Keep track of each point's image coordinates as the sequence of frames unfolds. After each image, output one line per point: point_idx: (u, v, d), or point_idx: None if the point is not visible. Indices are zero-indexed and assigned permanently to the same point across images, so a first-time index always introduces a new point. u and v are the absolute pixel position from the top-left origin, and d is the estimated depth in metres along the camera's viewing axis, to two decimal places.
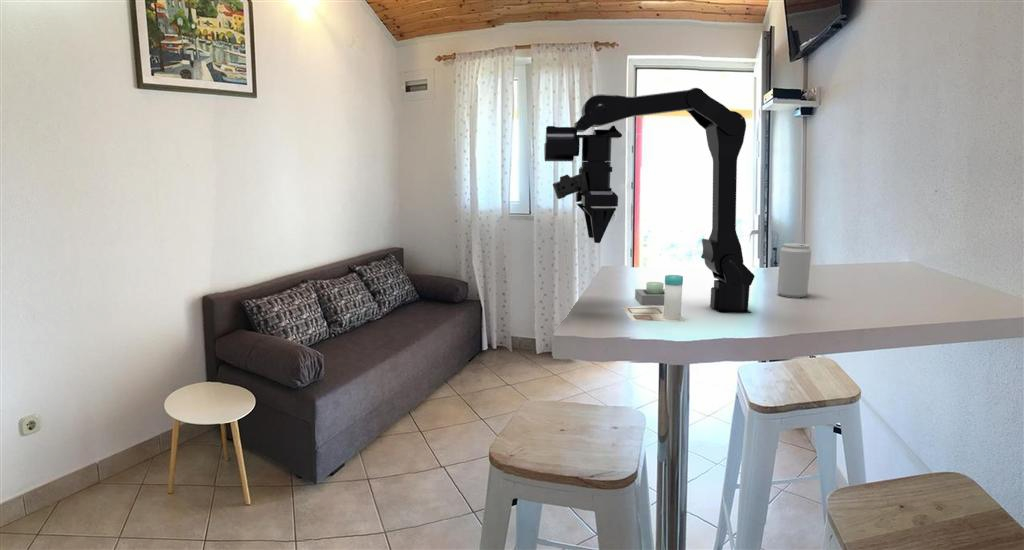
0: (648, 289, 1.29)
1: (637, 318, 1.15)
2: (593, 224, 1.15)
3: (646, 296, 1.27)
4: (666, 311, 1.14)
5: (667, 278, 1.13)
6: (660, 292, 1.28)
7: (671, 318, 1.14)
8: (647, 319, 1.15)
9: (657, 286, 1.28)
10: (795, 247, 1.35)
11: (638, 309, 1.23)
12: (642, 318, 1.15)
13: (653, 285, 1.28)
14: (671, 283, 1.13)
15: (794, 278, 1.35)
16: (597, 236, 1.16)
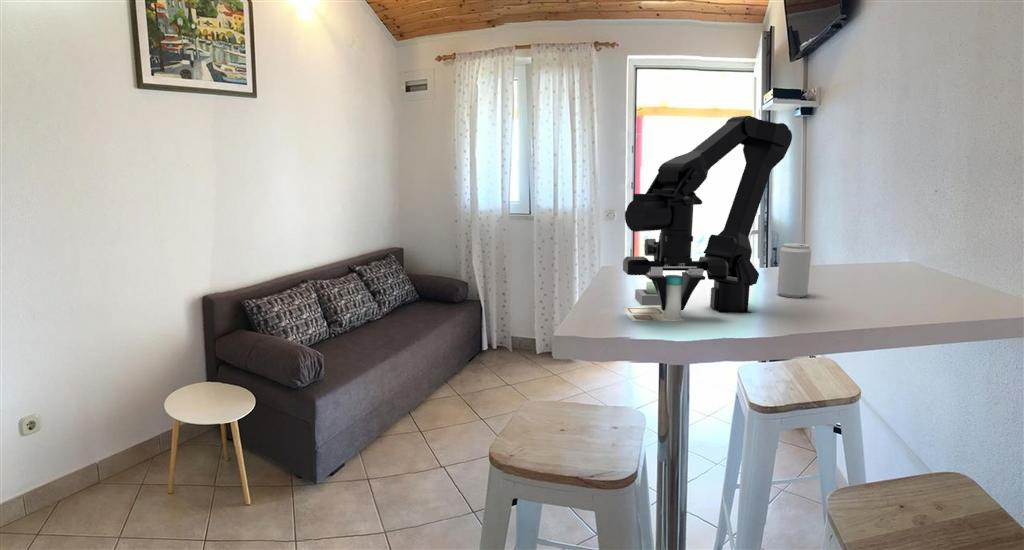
0: (648, 289, 1.29)
1: (637, 318, 1.15)
2: (656, 290, 1.16)
3: (646, 296, 1.27)
4: (666, 311, 1.14)
5: (667, 278, 1.13)
6: None
7: (671, 318, 1.14)
8: (647, 319, 1.15)
9: None
10: (795, 247, 1.35)
11: (638, 309, 1.23)
12: (642, 318, 1.15)
13: (653, 285, 1.28)
14: (671, 283, 1.13)
15: (794, 278, 1.35)
16: (661, 303, 1.15)
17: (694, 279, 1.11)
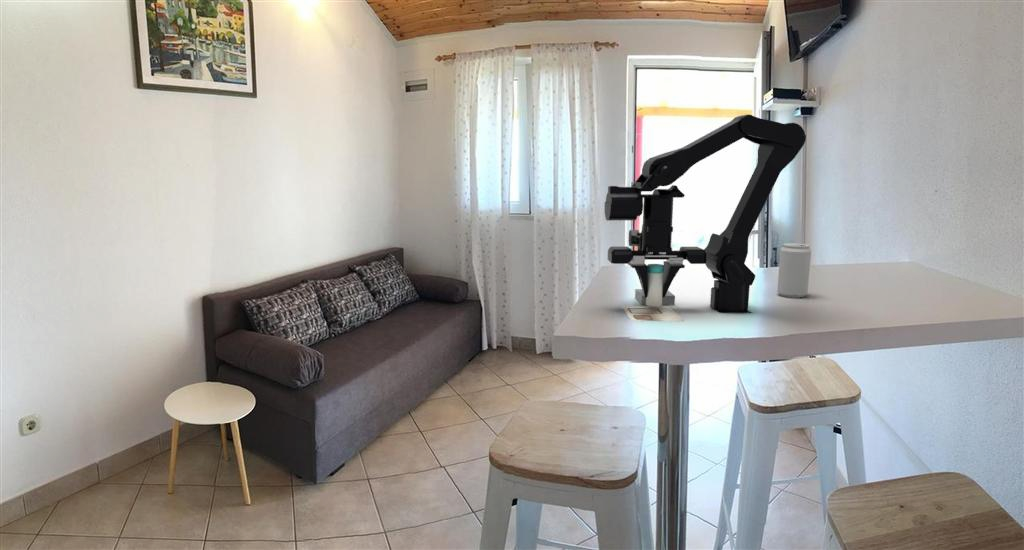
0: None
1: (637, 318, 1.15)
2: None
3: None
4: (648, 297, 1.21)
5: (649, 267, 1.20)
6: None
7: (653, 304, 1.21)
8: (647, 319, 1.15)
9: None
10: (795, 247, 1.35)
11: (638, 309, 1.23)
12: (642, 318, 1.15)
13: None
14: (653, 271, 1.20)
15: (794, 278, 1.35)
16: (643, 290, 1.22)
17: (674, 267, 1.18)
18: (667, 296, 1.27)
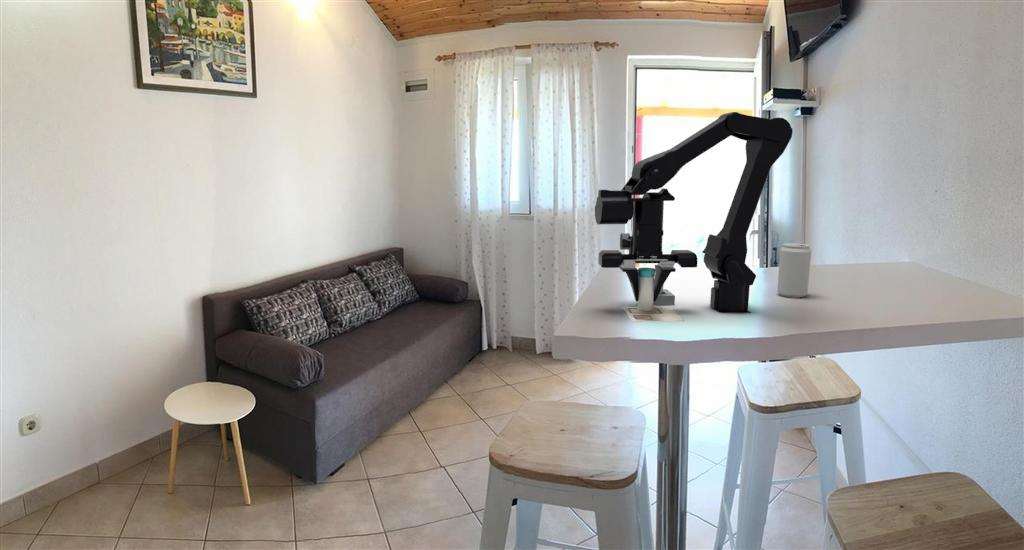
0: None
1: (637, 318, 1.15)
2: None
3: None
4: (639, 301, 1.20)
5: (640, 270, 1.19)
6: (660, 292, 1.28)
7: (644, 308, 1.20)
8: (647, 319, 1.15)
9: None
10: (795, 247, 1.35)
11: (638, 309, 1.23)
12: (642, 318, 1.15)
13: None
14: (643, 275, 1.19)
15: (794, 278, 1.35)
16: (634, 294, 1.21)
17: (665, 271, 1.17)
18: (667, 296, 1.27)
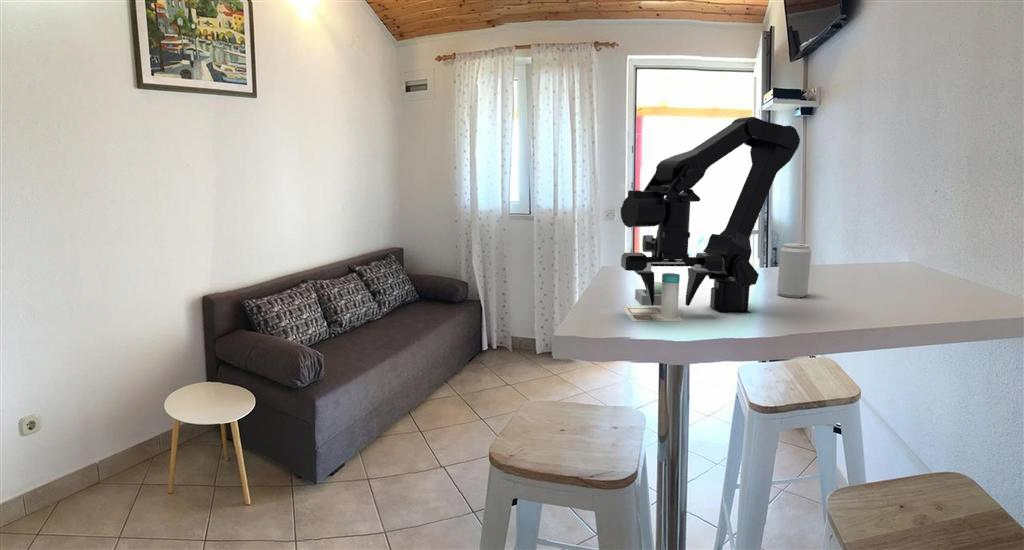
0: None
1: (637, 318, 1.15)
2: None
3: (646, 296, 1.27)
4: (663, 308, 1.16)
5: (664, 276, 1.15)
6: (660, 292, 1.28)
7: (668, 315, 1.16)
8: (647, 319, 1.15)
9: (657, 286, 1.28)
10: (795, 247, 1.35)
11: (638, 309, 1.23)
12: (642, 318, 1.15)
13: None
14: (668, 281, 1.15)
15: (794, 278, 1.35)
16: (650, 298, 1.17)
17: (700, 275, 1.13)
18: None
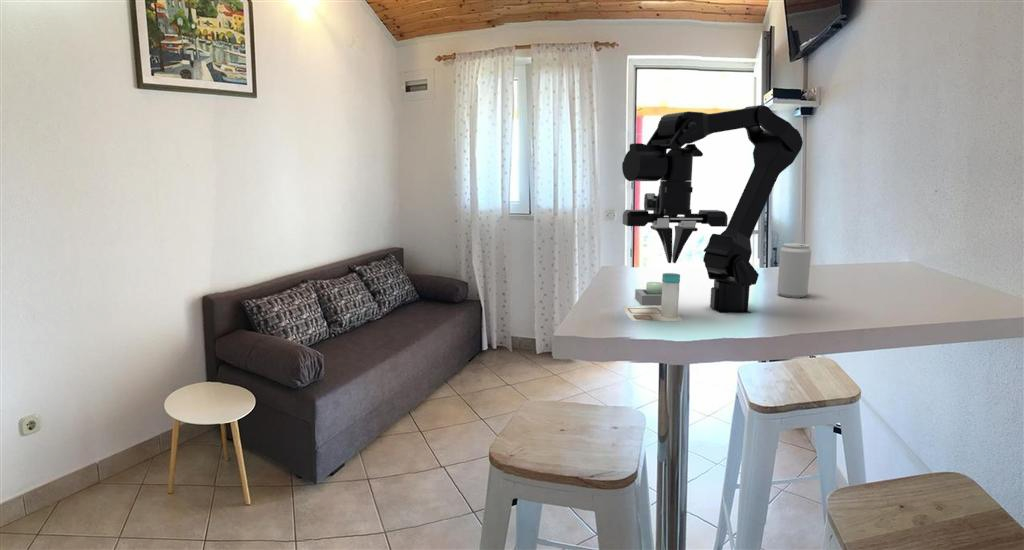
0: (648, 289, 1.29)
1: (637, 318, 1.15)
2: (662, 243, 1.16)
3: (646, 296, 1.27)
4: (663, 308, 1.16)
5: (664, 276, 1.15)
6: (660, 292, 1.28)
7: (668, 315, 1.16)
8: (647, 319, 1.15)
9: (657, 286, 1.28)
10: (795, 247, 1.35)
11: (638, 309, 1.23)
12: (642, 318, 1.15)
13: (653, 285, 1.28)
14: (668, 281, 1.15)
15: (794, 278, 1.35)
16: (667, 256, 1.15)
17: (686, 230, 1.12)
18: None
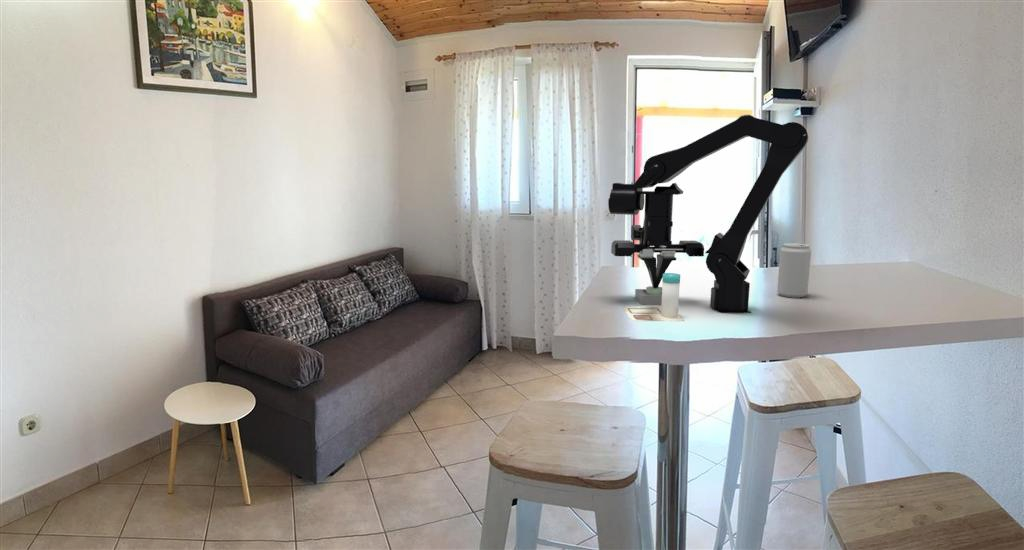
0: None
1: (637, 318, 1.15)
2: None
3: (646, 296, 1.27)
4: (663, 308, 1.16)
5: (665, 276, 1.15)
6: None
7: (668, 315, 1.16)
8: (647, 319, 1.15)
9: (657, 291, 1.28)
10: (795, 247, 1.35)
11: (638, 309, 1.23)
12: (642, 318, 1.15)
13: (653, 290, 1.28)
14: (668, 281, 1.15)
15: (794, 278, 1.35)
16: None
17: (666, 260, 1.26)
18: None
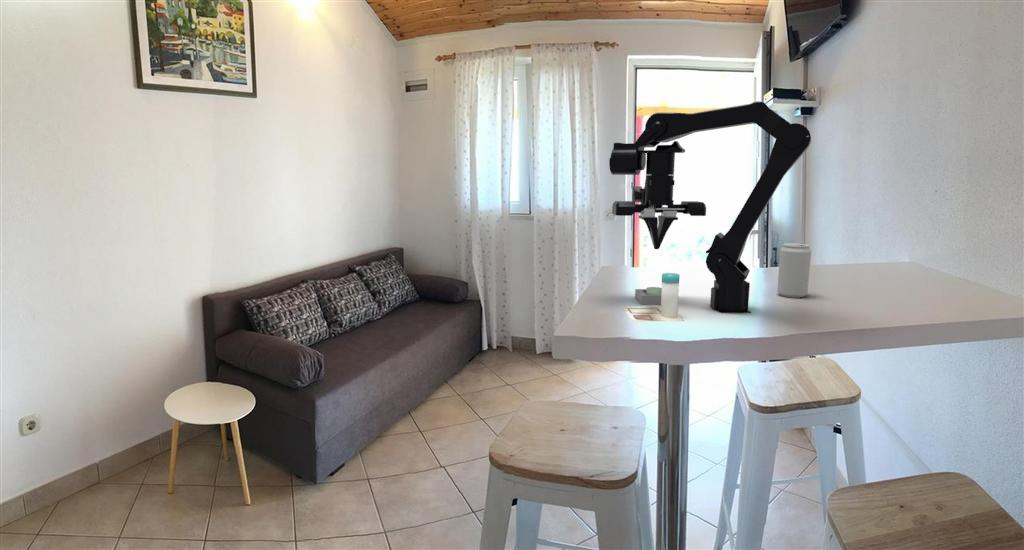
0: None
1: (637, 318, 1.15)
2: (649, 231, 1.29)
3: (646, 296, 1.27)
4: (663, 308, 1.16)
5: (664, 276, 1.15)
6: None
7: (668, 315, 1.16)
8: (647, 319, 1.15)
9: (657, 291, 1.28)
10: (795, 247, 1.35)
11: (638, 309, 1.23)
12: (642, 318, 1.15)
13: (653, 290, 1.28)
14: (668, 281, 1.15)
15: (794, 278, 1.35)
16: (653, 242, 1.28)
17: (668, 219, 1.24)
18: None
